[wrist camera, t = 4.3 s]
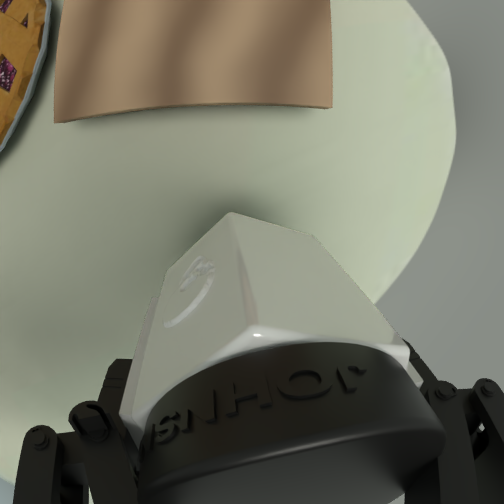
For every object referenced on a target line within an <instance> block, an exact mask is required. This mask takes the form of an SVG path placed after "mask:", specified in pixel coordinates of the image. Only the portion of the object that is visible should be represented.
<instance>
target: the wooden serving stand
mask: <svg viewBox="0 0 504 504" xmlns="http://www.w3.org/2000/svg"><path fill="white" fill-rule="evenodd" d="M332 100H333V72H332V31H331V11H330V0H64V4H63V10H62V15H61V22H60V29H59V36H58V45H57V54H56V67H55V84H54V123H66V122H71V121H76V120H81V119H86V118H92V117H98V116H104V115H110V114H117V113H124V112H132V111H140V110H149V109H160V108H172V107H186V106H207V105H271V106H292V107H307V108H319V109H328V108H332Z"/></svg>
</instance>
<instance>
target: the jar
mask: <svg viewBox="0 0 504 504" xmlns="http://www.w3.org/2000/svg"><path fill="white" fill-rule="evenodd" d="M409 356H410V349H409V347H408V346H407V344H406V343H405V342H404V341H403V339H402V338H401V337H400V336H399V334H398V333H397V332H396V331H395V330H394V328H393V327H392V326H391V325H390V323H389V322H388V321H387V320H386V319H385V317H384V316H383V315H382V314H381V312H380V311H379V310H378V309H377V308H376V306H375V305H374V304H373V303H372V302H371V301H370V299H369V298H368V297H367V296H366V295H365V293H364V292H363V291H362V290H361V289H360V288H359V286H358V285H357V284H356V283H355V282H354V281H353V279H352V278H351V277H350V276H349V275H348V274H347V273H346V271H345V270H344V269H343V268H342V267H341V266H340V265H339V263H338V262H337V261H336V260H335V259H334V258H333V257H332V256H331V255H330V253H329V252H328V251H327V250H326V249H325V248H324V247H323V246H322V244H321V243H320V242H319V241H318V240H317V239H316V238H315V237H314V236H313V235H310V234H306V233H303V232H300V231H296V230H293V229H289V228H286V227H283V226H279V225H276V224H272V223H269V222H265V221H262V220H258V219H255V218H251V217H248V216H244V215H241V214H237V213H234V212H229V213H227V214H226V215H225V216H224V217H223V218H222V219H221V220H220V221H218V222H217V223H216V224H215V225H214V226H213V227H212V228H211V229H210V230H209V231H208V232H207V233H206V234H205V235H204V236H203V237H201V238H200V239H199V240H198V241H197V242H196V243H195V244H194V245H193V246H192V247H191V248H190V249H189V250H188V251H187V252H186V253H185V254H184V255H183V256H182V257H181V258H180V259H178V260H177V261H176V262H175V263H174V264H173V265H172V266H171V267H170V268H169V269H168V270H167V272H166V275H165V278H164V281H163V285H162V288H161V292H160V295H159V299H158V302H157V306H156V310H155V313H154V317H153V321H152V324H151V328H150V332H149V336H148V340H147V344H146V348H145V352H144V356H143V360H142V365H141V369H140V373H139V378H138V382H137V387H136V391H135V396H134V401H133V406H132V411H131V418H132V420H133V421H134V422H135V424H136V425H137V426H138V427H139V429H140V430H141V431H142V432H143V433H144V435H143V437H142V440H141V442H140V446H139V452H138V460H137V468H136V474H138V490H137V501H138V503H139V504H388V503H390V502H392V501H393V500H395V499H396V498H398V497H399V496H401V495H402V494H404V493H405V491H406V490H407V489H408V488H409V487H410V486H411V485H412V484H413V483H414V482H415V481H416V480H417V479H418V478H419V477H420V476H421V475H422V474H423V473H424V472H425V471H426V469H427V468H428V467H429V466H430V465H431V464H432V463H433V462H434V460H435V459H436V458H437V457H438V456H440V455H441V454H442V453H443V451H444V448H445V445H446V437H447V436H446V431H445V428H444V426H443V425H442V423H441V422H440V420H439V419H438V417H437V416H436V414H435V412H434V411H433V410H432V408H431V407H430V405H429V404H428V402H427V401H426V399H425V398H424V396H423V395H422V393H421V392H420V390H419V389H418V387H417V386H416V385H415V383H414V382H413V380H412V379H411V377H410V376H409V375H408V373H407V368H408V362H409Z"/></svg>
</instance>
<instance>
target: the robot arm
mask: <svg viewBox="0 0 504 504" xmlns="http://www.w3.org/2000/svg"><path fill="white" fill-rule="evenodd" d="M158 299H159V297H152V298H151V301H150V304H149V308H148V311H147V314H146V317H145V320H144V323H143V327H142V330H141V333H140V337H139V340H138V343H137V347H136V350H135V354H134V357H133V359H116V360H115V361H114V362H113V363H112V364H111V365H110V367H109V368H108V371H107V374H106V377H105V380H104V383H103V388H102V389H101V392H100V395H99V398H98V401H85V402H82V403H79V404H78V405H76V406H75V407H74V408H73V409H72V410H71V412H70V414H69V420H68V421H69V423H70V424H71V426H72V427H73V429H74V430H75V431H74V432H67V433H58V434H56V432H55V431H54V430H53V429H52V428H50V427H49V426H45V425H38V426H35V427H33V428H31V429H30V430H29V431H28V432H27V433H26V435H25V437H24V441H23V445H22V450H21V455H20V460H19V465H18V471H17V477H16V483H15V490H14V499H13V504H89V488H90V492H91V495H92V499H93V503H94V504H139V503H138V501H137V490H138V474H136V468H137V460H138V452H139V446H140V442H141V440H142V437H143V435H144V433H143V432H142V431H141V430H140V429H139V427H138V426H137V425H136V424H135V422H134V421H133V420H132V418H131V411H132V406H133V401H134V396H135V391H136V387H137V382H138V378H139V373H140V369H141V365H142V360H143V356H144V352H145V348H146V344H147V340H148V336H149V332H150V328H151V324H152V321H153V317H154V313H155V310H156V306H157V302H158ZM403 341H404V342H405V343H406V344H407V346H408V347H409V349H410V356H409V362H408V368H407V373H408V375H409V376H410V377H411V379H412V380H413V382H414V383H415V385H416V386H417V387H418V389H419V390H420V392H421V393H422V395H423V396H424V398H425V399H426V401H427V402H428V404H429V405H430V407H431V408H432V410H433V411H434V412H435V414H436V416H437V417H438V419H439V420H440V422H441V423H442V425H443V426H444V428H445V431H446V436H447V437H446V445H445V448H444V451H443V453H442V454H441V455H440V456H438V457H437V458H436V459H435V460H434V462H433V463H432V464H431V465H430V466H429V467H428V468H427V469H426V471H425V472H424V473H423V474H422V475H421V476H420V477H419V478H418V479H417V480H416V481H415V482H414V483H413V484H412V485H411V486H410V487H409V488H408V489H407V490H406V491H405V503H404V504H504V393H503V392H502V390H501V389H500V387H499V386H498V385H497V384H496V382H494V381H492V380H490V379H487V378H482V379H479V380H478V381H477V382H476V383H475V385H474V386H473V388H472V389H457V388H456V387H455V386H454V385H453V384H451V383H449V382H447V381H438V380H437V378H436V377H435V376H434V374H433V373H432V372H431V370H430V369H429V368H428V367H427V365H426V364H425V363H424V361H423V360H422V359H420V356H419V355H418V354H417V353H416V352H415V350H414V349H413V347H412V346H411V345H410V344H409V343H408V342H407V341H405V340H404V339H403ZM481 424H483V426H484V427H485V429H484V430H483V431H481V430H480V429H479V426H480V425H481Z"/></svg>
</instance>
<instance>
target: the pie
mask: <svg viewBox="0 0 504 504" xmlns="http://www.w3.org/2000/svg"><path fill="white" fill-rule="evenodd" d="M51 4H52V3H51V1H50V0H0V152H1V151H2V150H3V148H4V147H5V145H6V143H7V141H8V139H9V138H10V137H11V135H12V134H13V133H14V131H15V129H16V127H17V125H18V123H19V121H20V119H21V117H22V115H23V113H24V111H25V109H26V107H27V106H28V104H29V102H30V100H31V98H32V97H33V95H34V91H35V88H36V85H37V81H38V78H39V75H40V72H41V69H42V67H43V64H44V61H45V58H46V56H47V51H48V42H49V34H50V27H51V18H50V11H51Z"/></svg>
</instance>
